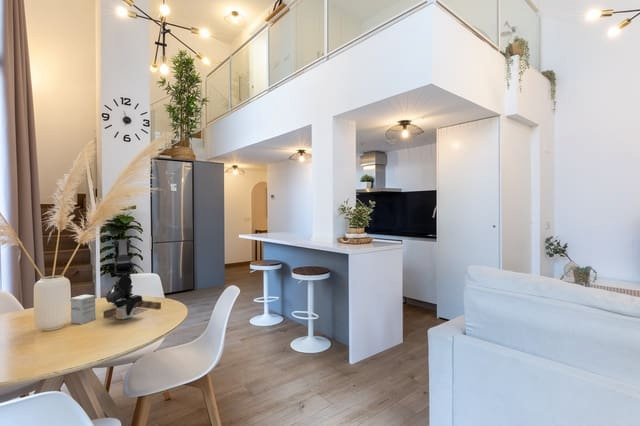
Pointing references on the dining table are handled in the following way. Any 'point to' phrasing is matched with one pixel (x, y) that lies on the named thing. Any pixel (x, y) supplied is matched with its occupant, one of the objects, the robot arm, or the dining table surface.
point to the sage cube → (123, 313)
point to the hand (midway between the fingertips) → (124, 314)
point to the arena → (139, 304)
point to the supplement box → (82, 309)
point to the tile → (138, 310)
